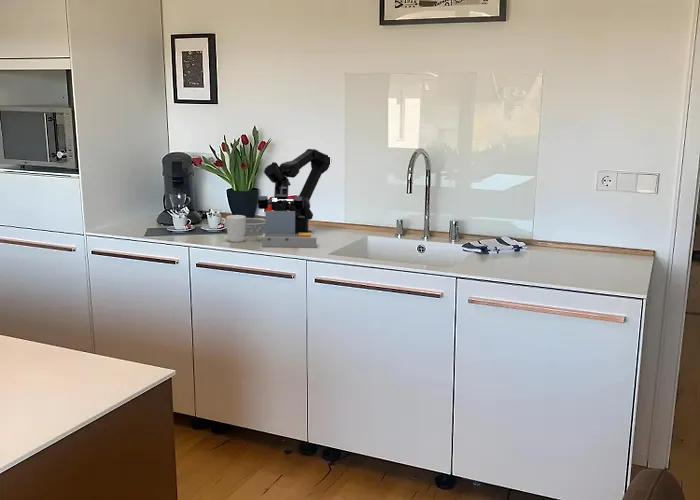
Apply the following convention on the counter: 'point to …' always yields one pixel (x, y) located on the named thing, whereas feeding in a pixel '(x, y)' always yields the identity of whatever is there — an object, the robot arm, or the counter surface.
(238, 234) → the white cup
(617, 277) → the counter surface
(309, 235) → the mustard yellow box
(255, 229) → the dog bowl
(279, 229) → the panel
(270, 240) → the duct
